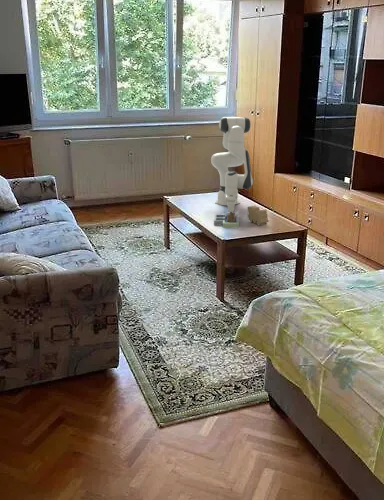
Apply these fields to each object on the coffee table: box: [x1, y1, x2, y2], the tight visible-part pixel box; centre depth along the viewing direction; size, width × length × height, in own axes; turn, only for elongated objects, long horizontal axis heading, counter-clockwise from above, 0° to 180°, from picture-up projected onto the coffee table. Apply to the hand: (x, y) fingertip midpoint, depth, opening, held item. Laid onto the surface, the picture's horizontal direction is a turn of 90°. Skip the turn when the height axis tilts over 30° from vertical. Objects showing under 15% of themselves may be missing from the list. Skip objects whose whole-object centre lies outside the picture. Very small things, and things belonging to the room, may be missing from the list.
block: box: [226, 212, 236, 223], centre depth 355 cm, size 5×5×5 cm
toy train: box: [247, 205, 270, 226], centre depth 350 cm, size 6×17×10 cm, turn 28°
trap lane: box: [213, 212, 240, 229], centre depth 354 cm, size 25×16×3 cm, turn 176°
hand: (231, 215), depth 359 cm, fingers closed
